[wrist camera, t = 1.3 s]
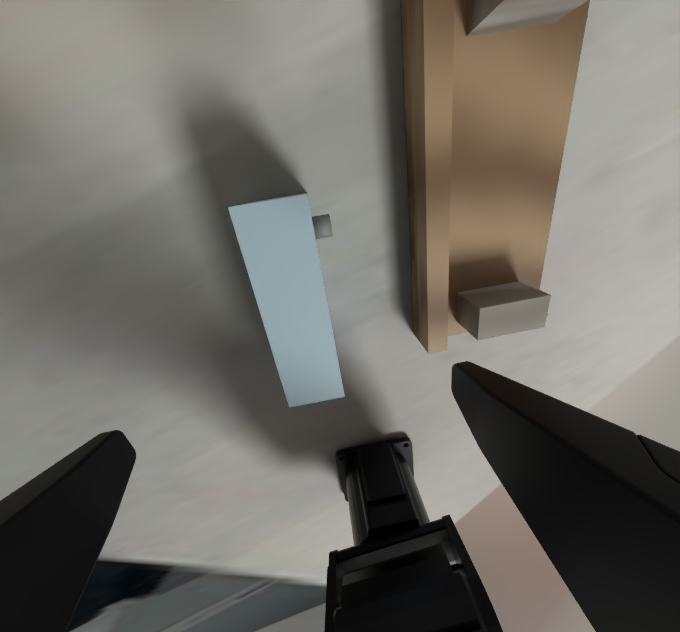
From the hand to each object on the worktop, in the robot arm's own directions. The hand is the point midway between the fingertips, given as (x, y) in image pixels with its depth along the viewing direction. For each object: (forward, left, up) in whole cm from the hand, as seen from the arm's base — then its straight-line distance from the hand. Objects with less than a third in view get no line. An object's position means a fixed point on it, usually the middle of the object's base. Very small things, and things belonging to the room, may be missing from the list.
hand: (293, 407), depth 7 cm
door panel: (0, 0, -11) cm, 11 cm away
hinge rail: (+4, -11, -10) cm, 16 cm away
